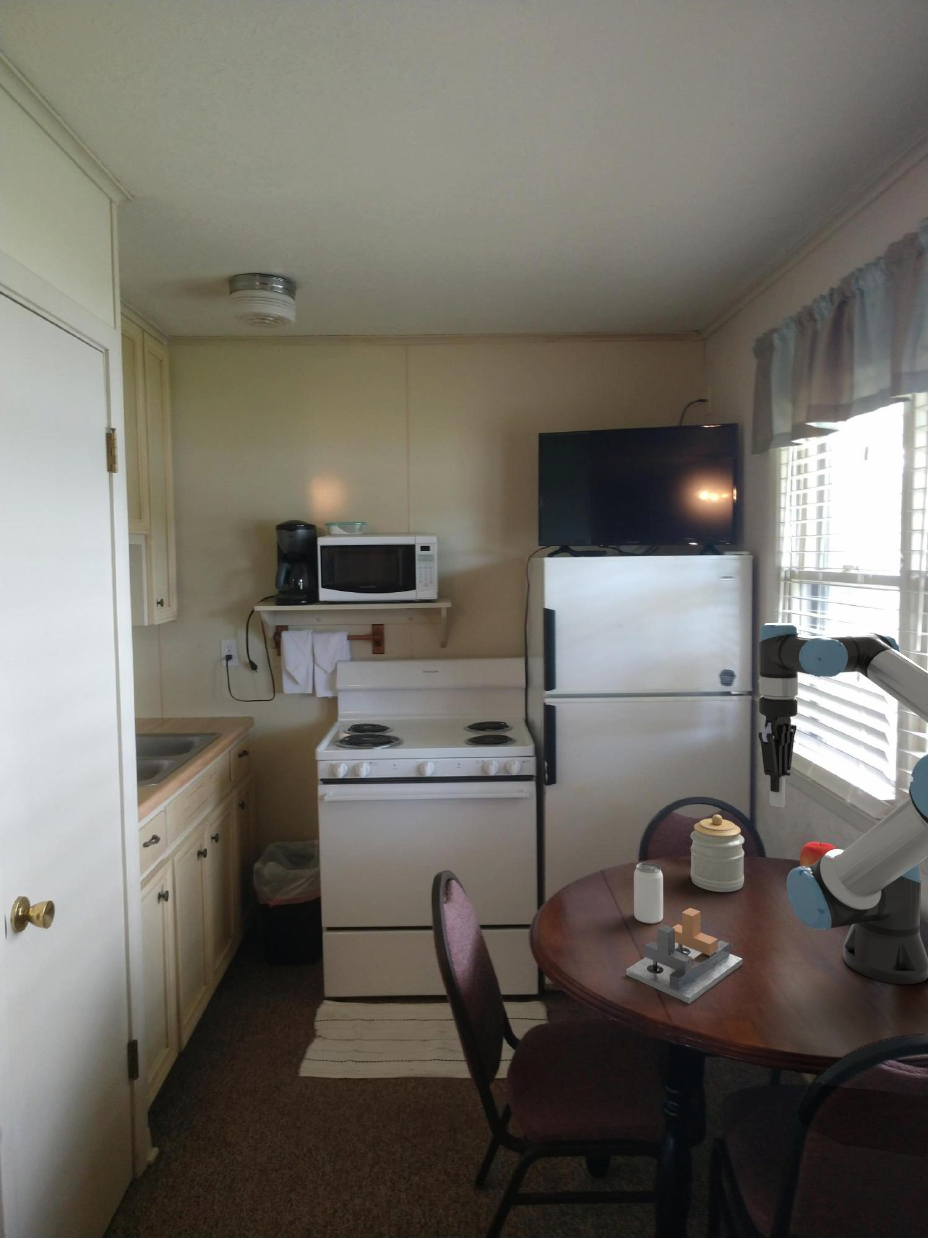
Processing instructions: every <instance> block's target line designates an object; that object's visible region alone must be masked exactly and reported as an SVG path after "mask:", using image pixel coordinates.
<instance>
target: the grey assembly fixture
mask: <svg viewBox="0 0 928 1238" xmlns="http://www.w3.org/2000/svg"><path fill="white" fill-rule="evenodd" d="M672 927H673V926H669V925H667V924H662V925H660V926H659V927H657V929H656V933H657V934H656V939H657V940H656V942H655V941H650V942H648V943H646V944H645V945H644V958H642V959H640V960H639V961H637V962H635V963H634V964H633V965H631V966H629V967H628V968H626V974H625V975H626V976H628V977H630V978H632V979H635V980H637V981H638V982H641V983H642V984H643V983H644V984H646V985H647V986H650V987H652V988H655V989H656V990H658V991H661V992H663V993H664V994H667V995H670V997H673V998H676V999H679V1000H680V1001H682V1002H684V1003H687V1004H691V1003H692V1002H694V1001H695V1000H696V999H698V998H699V997H700V996H702V995H703V994H704V993H707V992H708V991H709V990H710V989H711V988H713V987H714V986H715V985H717V984H718V983H720V982H721V981H722V980H723V979H725V978H726V977H727V976H729V975H730V974H731V973H733V972H734V971H736V970H737V969H738V968H740V966H742V965H743V958H741V957H740V956H737V955H734V954H732V953H731V951H730V950H731V948H730V947H731V944H730V943H729V942H726V941H724V940H719V941H718V951H716V952H715V953H713V954H712V955H711V956H709V955H706V954H704V953H701V952H699V951H696V950H694V949H691V948H689V947H686V946H684V945H683V951H682V952H679V951H678V943H676V942H675V928H672Z"/></svg>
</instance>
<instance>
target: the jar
mask: <svg viewBox="0 0 928 1238" xmlns="http://www.w3.org/2000/svg"><path fill="white" fill-rule="evenodd" d="M693 829H694V830H693V831H692V832H691V834H690V838H691V840H692V845H691V846H690V852H691V853H690V857H691V858H690V860H691V862H690V863H691V866H690V867H691V868H690V877H691V881H692V883H693V884H694V885H695V886H697V887H699V888H701V889H703V890H706V891H710V892H711V891H712V892H716V893H717V892H718V893H731V892H736V891H739V890H741V889H742V888H743V886H744V882H745V873H744V856H745V851H744V849H743V844H744V843H745V837H744V836H743V835H742V834H741V831H742V830H741V828H740V827H739V826H738V825H736V824H735V823H733V822H732V821H730V820H727V819H723V817H722V815H720V814H713V816H712V818H711V817H710V818H704V819H702V820H699V822H697V823H695V824H694V825H693Z"/></svg>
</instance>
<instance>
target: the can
mask: <svg viewBox="0 0 928 1238" xmlns="http://www.w3.org/2000/svg"><path fill="white" fill-rule="evenodd" d="M661 870H662V868H661V866H660V865H659V864H656V863H653V862H640V863H638V864H636V865H635V870H634V872H633V913H634V914H633V916H634V918H635V919H636V920H637V921H638V922H640V923H642V924H648V925H650V924H652V925H654V924H658V923H660V922H661V921H662V920H663V918H664V874H663V872H662V871H661Z"/></svg>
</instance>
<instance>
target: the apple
mask: <svg viewBox="0 0 928 1238" xmlns="http://www.w3.org/2000/svg"><path fill="white" fill-rule="evenodd" d="M836 849H837V848H836V846H834V845H833V844H830V843H829V842H819V841H811V842H807V843H806V844H804V846H802V849H801V850H800V854H799V864H800V866H809V865H812V864H814V863H815V862H816V861H818V860H819V859H820V858H821V857H822V856H824V855H825V854H826V853H828V852H830V851H832V850H836Z"/></svg>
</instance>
